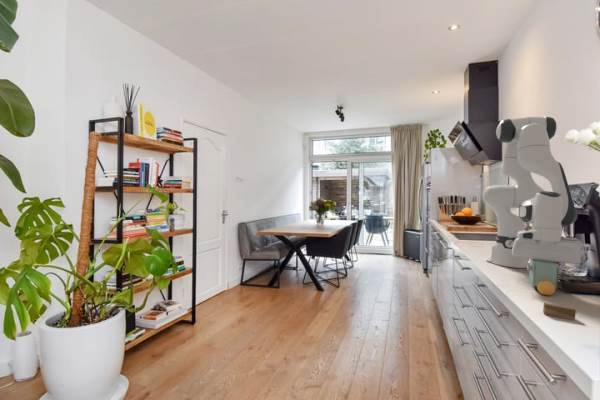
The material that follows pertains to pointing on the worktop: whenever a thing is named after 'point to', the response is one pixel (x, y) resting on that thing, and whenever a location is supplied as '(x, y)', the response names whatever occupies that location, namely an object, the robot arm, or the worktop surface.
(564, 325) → the worktop surface
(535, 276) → the sage green upright block
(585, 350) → the worktop surface
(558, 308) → the strip
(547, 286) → the ball
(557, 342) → the worktop surface
